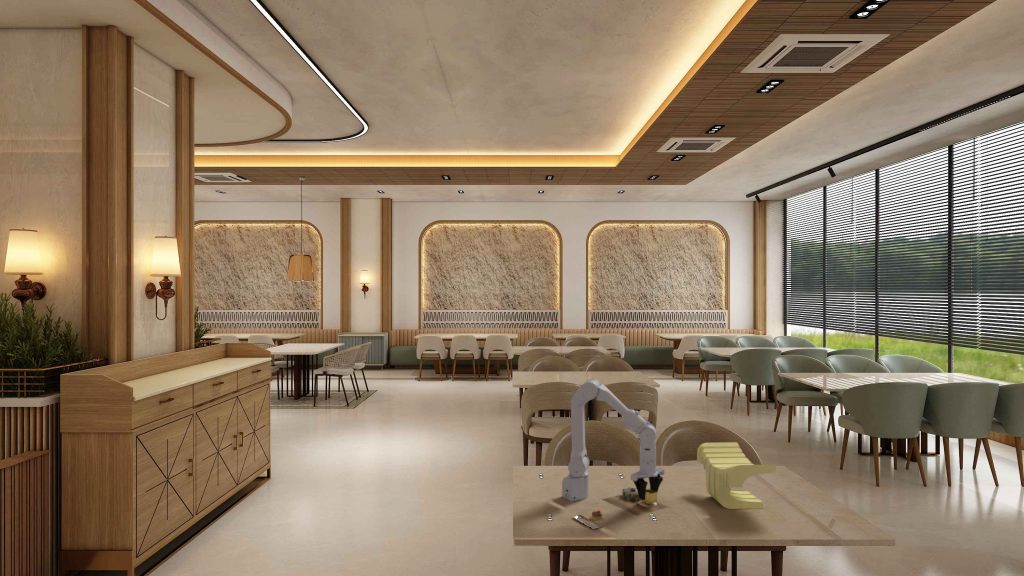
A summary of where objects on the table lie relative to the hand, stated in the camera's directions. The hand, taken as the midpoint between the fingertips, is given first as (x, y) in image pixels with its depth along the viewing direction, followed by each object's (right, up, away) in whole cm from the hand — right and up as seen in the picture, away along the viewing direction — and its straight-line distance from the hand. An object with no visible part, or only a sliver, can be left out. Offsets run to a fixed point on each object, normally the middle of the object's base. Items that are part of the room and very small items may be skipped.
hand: (647, 497), depth 212 cm
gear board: (-5, -3, +1) cm, 6 cm away
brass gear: (0, -1, 0) cm, 1 cm away
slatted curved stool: (+32, -3, +5) cm, 33 cm away
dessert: (-20, -4, -13) cm, 24 cm away
